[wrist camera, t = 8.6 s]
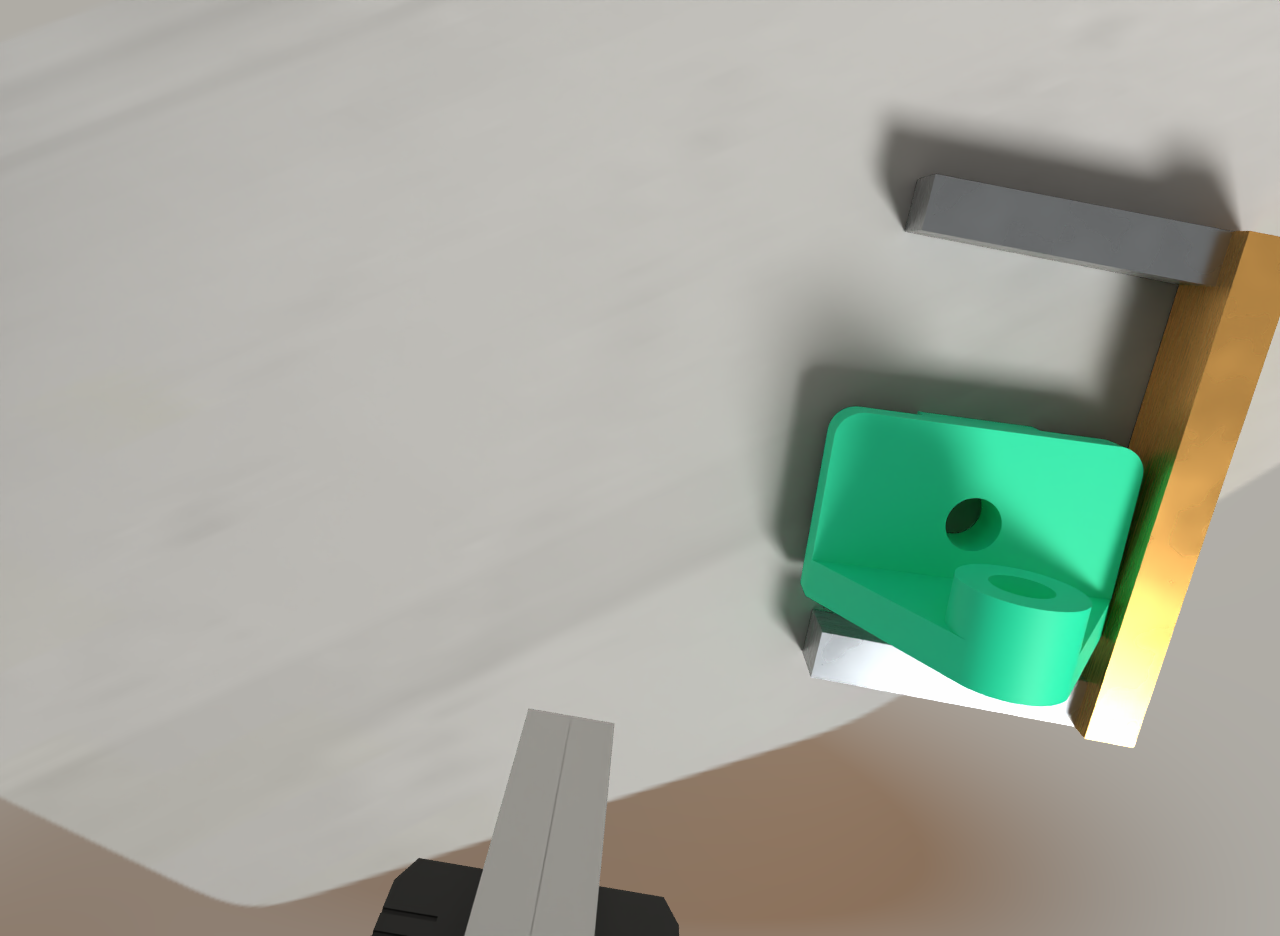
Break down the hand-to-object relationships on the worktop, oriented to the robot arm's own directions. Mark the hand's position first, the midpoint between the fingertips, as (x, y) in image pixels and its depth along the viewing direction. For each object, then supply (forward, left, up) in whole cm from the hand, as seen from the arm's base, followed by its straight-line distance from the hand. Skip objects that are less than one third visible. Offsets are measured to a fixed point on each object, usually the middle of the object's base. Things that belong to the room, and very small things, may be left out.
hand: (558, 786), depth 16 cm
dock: (+15, +4, -24) cm, 28 cm away
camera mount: (+14, +1, -24) cm, 28 cm away
